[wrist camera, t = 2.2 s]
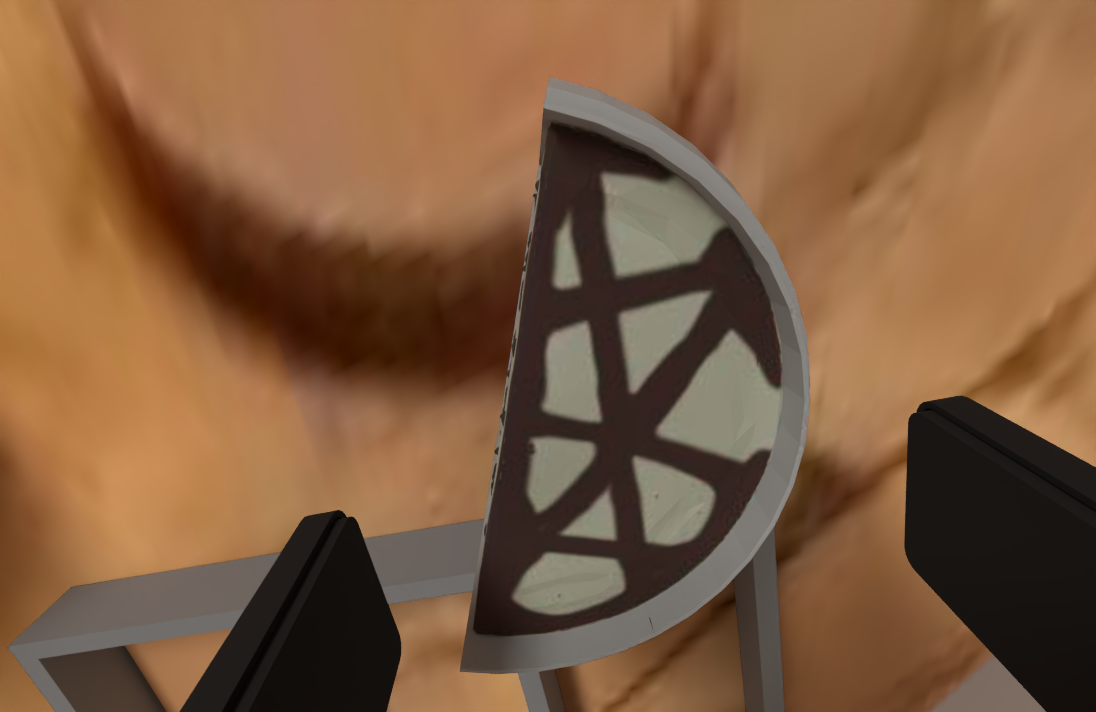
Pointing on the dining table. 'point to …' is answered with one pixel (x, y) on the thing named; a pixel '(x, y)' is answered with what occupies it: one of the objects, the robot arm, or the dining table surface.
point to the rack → (226, 589)
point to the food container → (633, 396)
